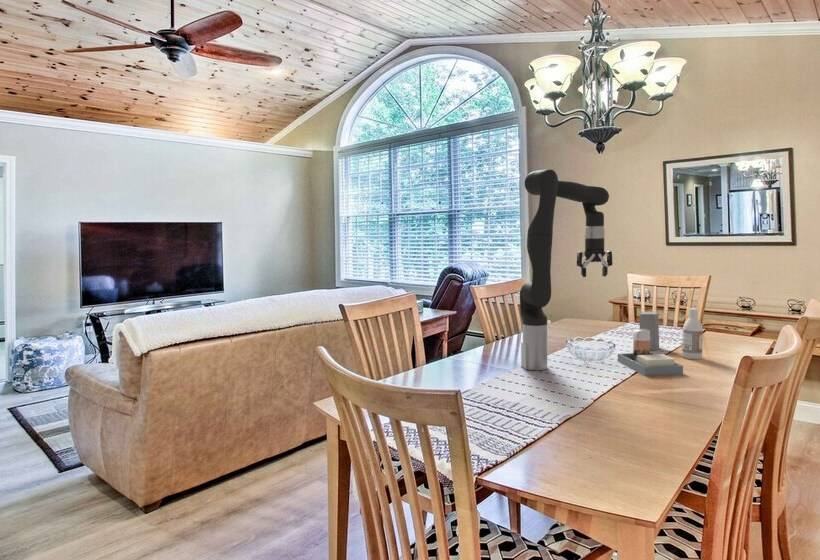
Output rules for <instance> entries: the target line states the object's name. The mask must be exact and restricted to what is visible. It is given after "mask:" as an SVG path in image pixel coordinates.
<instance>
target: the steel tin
mask: <svg viewBox="0 0 820 560" xmlns="http://www.w3.org/2000/svg"><path fill="white" fill-rule="evenodd" d="M632 346H633V348H632V351H633V352H632V353H633V361H635V362H637V355H650V352H651V350H650V330H647V329H640V328H634V329H633V345H632Z"/></svg>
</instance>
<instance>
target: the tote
mask: <svg viewBox="0 0 820 560" xmlns="http://www.w3.org/2000/svg"><path fill="white" fill-rule="evenodd" d="M650 355H658V354H657V353H656V352H655V353H654V352H651V351H650ZM617 362H618V363H620V365H621V364H622V365H623V366H626V367H627V368H629V369H631V370H633V371H635V372H637V373H638V374H640V375H642V376H644V377H651V376H670V375H673V376H674V375H675V376H676V375H683V374H684V365H682V364H680V363H679V362H675V361H674V365H673V366H651V367H645V366H643V365H641V364H639V363H637V362H635V361H633V352H631V353H629V352H627V353H626V352H625V353H617Z"/></svg>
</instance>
